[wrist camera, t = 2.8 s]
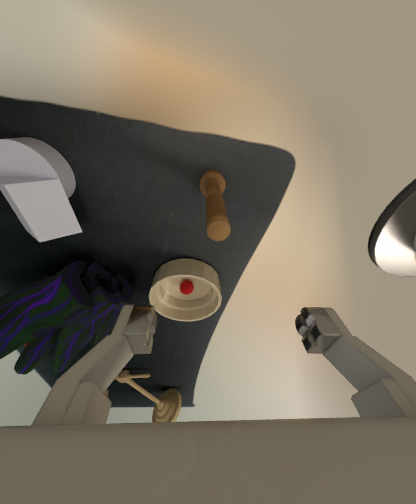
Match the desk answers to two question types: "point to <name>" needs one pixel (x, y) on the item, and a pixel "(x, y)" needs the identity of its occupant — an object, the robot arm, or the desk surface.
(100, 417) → the robot arm
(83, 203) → the desk surface
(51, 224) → the wedge on round base
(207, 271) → the bowl
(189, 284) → the berry
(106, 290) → the decorative plant
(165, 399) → the desk lamp
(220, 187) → the wooden pestle
